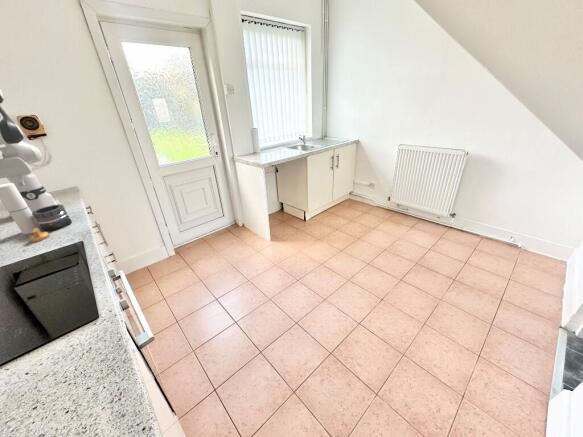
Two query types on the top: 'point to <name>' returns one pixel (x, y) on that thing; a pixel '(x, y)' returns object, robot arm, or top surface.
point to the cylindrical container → (18, 208)
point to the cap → (38, 235)
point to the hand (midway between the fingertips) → (7, 188)
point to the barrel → (52, 217)
